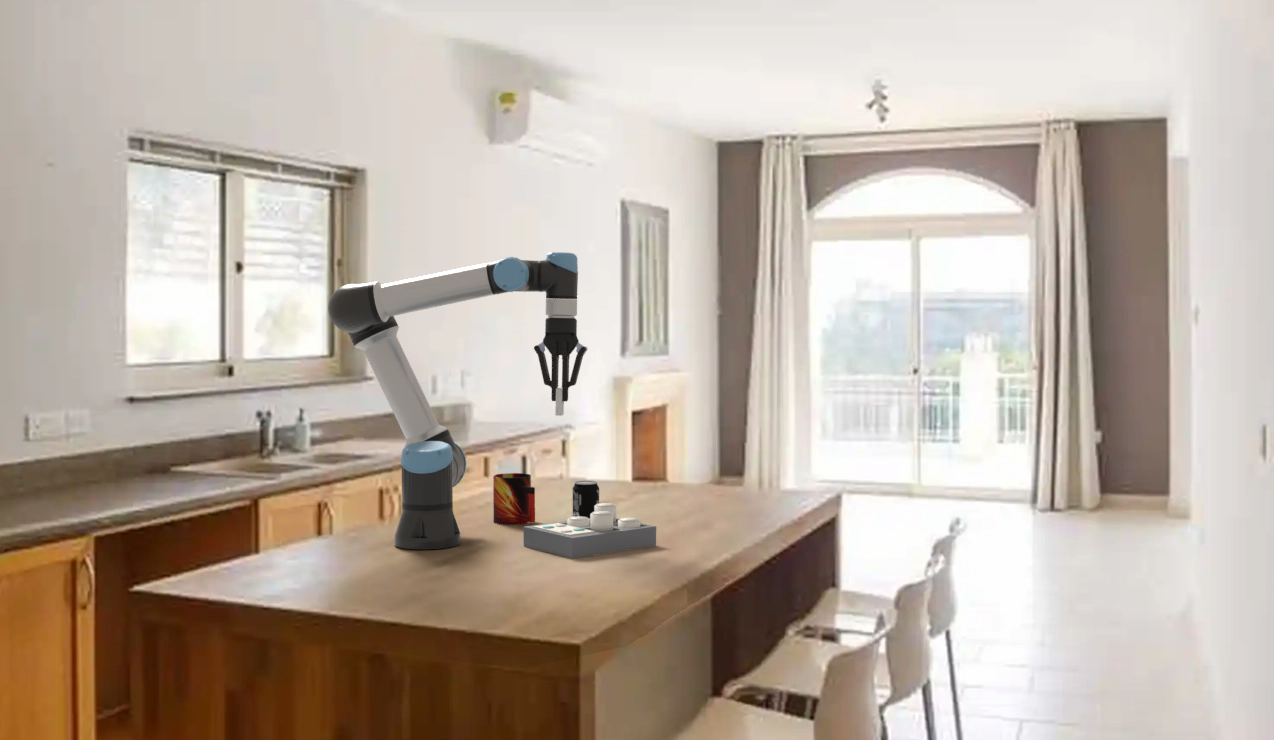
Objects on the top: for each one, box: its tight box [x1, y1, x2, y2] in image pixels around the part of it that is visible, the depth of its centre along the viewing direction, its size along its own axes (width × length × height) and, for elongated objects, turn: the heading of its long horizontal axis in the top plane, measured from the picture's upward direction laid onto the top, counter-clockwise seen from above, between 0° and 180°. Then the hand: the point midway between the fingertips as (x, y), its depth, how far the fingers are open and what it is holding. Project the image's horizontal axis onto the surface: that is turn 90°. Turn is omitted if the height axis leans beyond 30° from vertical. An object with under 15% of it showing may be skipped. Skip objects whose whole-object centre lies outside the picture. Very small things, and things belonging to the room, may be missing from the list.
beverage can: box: [572, 480, 600, 518], centre depth 315 cm, size 7×7×12 cm
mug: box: [492, 472, 536, 526], centre depth 327 cm, size 10×14×12 cm
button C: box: [590, 511, 613, 532], centre depth 290 cm, size 5×5×5 cm
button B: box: [594, 502, 617, 522], centre depth 302 cm, size 5×5×5 cm
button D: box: [618, 517, 641, 529], centre depth 295 cm, size 5×5×5 cm
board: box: [523, 517, 657, 559], centre depth 294 cm, size 24×19×5 cm
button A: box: [566, 516, 589, 527], centre depth 297 cm, size 5×5×5 cm
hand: (559, 414), depth 307 cm, fingers closed
